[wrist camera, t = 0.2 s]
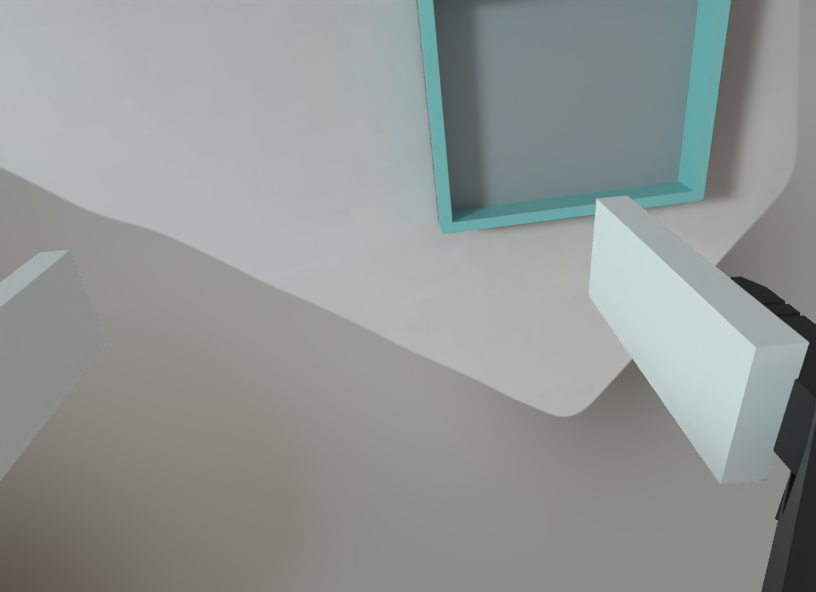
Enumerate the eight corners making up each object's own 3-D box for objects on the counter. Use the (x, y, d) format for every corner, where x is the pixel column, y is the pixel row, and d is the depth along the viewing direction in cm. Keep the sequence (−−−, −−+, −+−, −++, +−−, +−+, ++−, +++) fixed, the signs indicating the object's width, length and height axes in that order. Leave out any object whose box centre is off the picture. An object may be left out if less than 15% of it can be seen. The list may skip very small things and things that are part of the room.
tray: (415, -15, 36) (418, -16, 33) (712, -56, 35) (739, -60, 33) (438, 219, 43) (442, 234, 40) (683, 187, 43) (703, 200, 40)
